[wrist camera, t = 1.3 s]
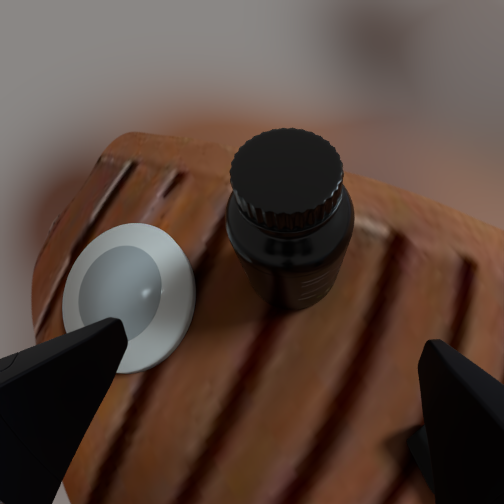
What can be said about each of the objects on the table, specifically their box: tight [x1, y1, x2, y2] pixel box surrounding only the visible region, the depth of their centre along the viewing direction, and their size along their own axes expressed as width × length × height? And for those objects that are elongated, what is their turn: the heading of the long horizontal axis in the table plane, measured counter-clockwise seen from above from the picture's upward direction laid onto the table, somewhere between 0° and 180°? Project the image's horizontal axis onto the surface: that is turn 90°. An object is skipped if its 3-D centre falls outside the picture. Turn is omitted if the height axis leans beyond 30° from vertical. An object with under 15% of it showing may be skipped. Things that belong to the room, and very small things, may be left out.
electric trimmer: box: [407, 424, 435, 494], centre depth 12 cm, size 4×16×3 cm, turn 33°
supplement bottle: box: [225, 128, 355, 310], centre depth 17 cm, size 7×7×12 cm
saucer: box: [62, 223, 196, 374], centre depth 23 cm, size 13×13×2 cm
